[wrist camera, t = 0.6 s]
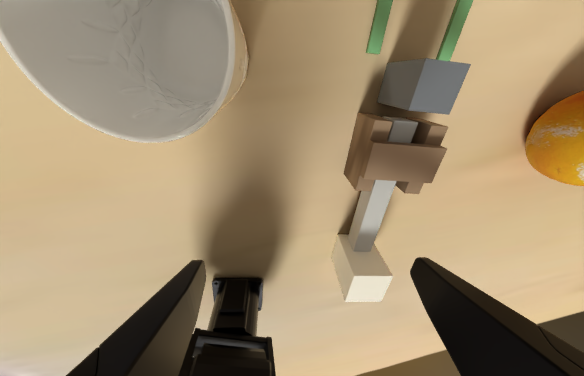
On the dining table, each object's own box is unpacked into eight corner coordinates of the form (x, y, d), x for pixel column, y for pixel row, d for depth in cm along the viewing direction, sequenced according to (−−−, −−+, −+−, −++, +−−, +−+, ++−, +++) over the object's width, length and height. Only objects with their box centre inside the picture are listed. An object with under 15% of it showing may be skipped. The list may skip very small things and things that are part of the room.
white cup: (252, -11, 14) (216, -151, 5) (259, 110, 18) (244, 142, 9) (132, -17, 14) (-123, -181, 5) (164, 110, 17) (53, 144, 9)
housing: (402, 177, 22) (429, 198, 18) (339, 173, 21) (353, 194, 18) (470, 0, 15) (535, -25, 12) (380, -15, 15) (418, -48, 11)
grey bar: (360, 258, 28) (381, 301, 22) (331, 257, 27) (345, 301, 22) (409, 117, 19) (461, 133, 14) (368, 113, 19) (405, 128, 13)
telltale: (408, 105, 19) (449, 114, 14) (376, 102, 18) (408, 110, 14) (421, 67, 17) (470, 64, 13) (387, 62, 17) (426, 58, 13)
